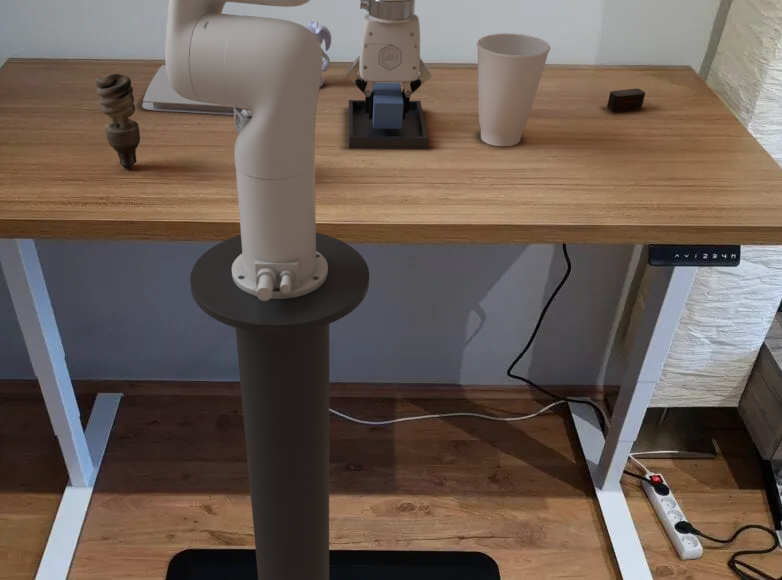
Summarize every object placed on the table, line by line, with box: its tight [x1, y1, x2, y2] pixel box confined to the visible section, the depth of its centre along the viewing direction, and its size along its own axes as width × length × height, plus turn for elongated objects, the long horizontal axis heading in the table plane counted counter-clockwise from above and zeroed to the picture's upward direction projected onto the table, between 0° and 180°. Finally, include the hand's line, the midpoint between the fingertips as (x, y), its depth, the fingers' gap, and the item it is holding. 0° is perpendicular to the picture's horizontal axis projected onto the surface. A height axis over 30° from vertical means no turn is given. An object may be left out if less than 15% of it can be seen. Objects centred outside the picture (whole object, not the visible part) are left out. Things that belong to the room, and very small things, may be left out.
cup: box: [476, 32, 551, 147], centre depth 136 cm, size 12×12×16 cm
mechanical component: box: [233, 107, 252, 135], centre depth 126 cm, size 3×10×10 cm, turn 24°
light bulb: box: [94, 73, 141, 170], centre depth 127 cm, size 6×6×15 cm
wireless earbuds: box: [606, 88, 646, 114], centre depth 152 cm, size 5×7×3 cm, turn 107°
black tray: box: [348, 99, 429, 150], centre depth 144 cm, size 17×13×2 cm
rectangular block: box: [372, 82, 403, 129], centre depth 142 cm, size 10×5×4 cm, turn 0°
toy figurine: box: [305, 20, 332, 88], centre depth 158 cm, size 7×6×12 cm
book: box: [141, 64, 234, 116], centre depth 154 cm, size 15×23×4 cm, turn 83°
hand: (386, 115), depth 143 cm, fingers closed on rectangular block, 5 cm apart
